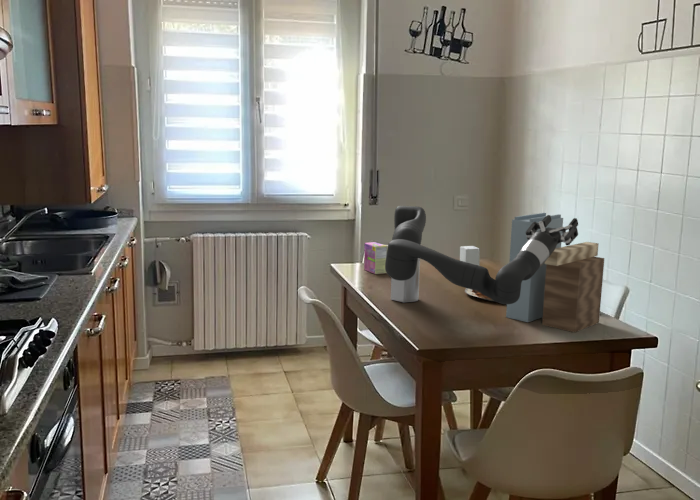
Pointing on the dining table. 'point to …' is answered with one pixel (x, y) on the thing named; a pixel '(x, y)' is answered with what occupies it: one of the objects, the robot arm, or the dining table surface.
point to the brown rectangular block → (572, 253)
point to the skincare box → (470, 254)
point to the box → (375, 257)
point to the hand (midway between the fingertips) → (562, 218)
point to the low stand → (573, 294)
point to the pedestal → (534, 287)
